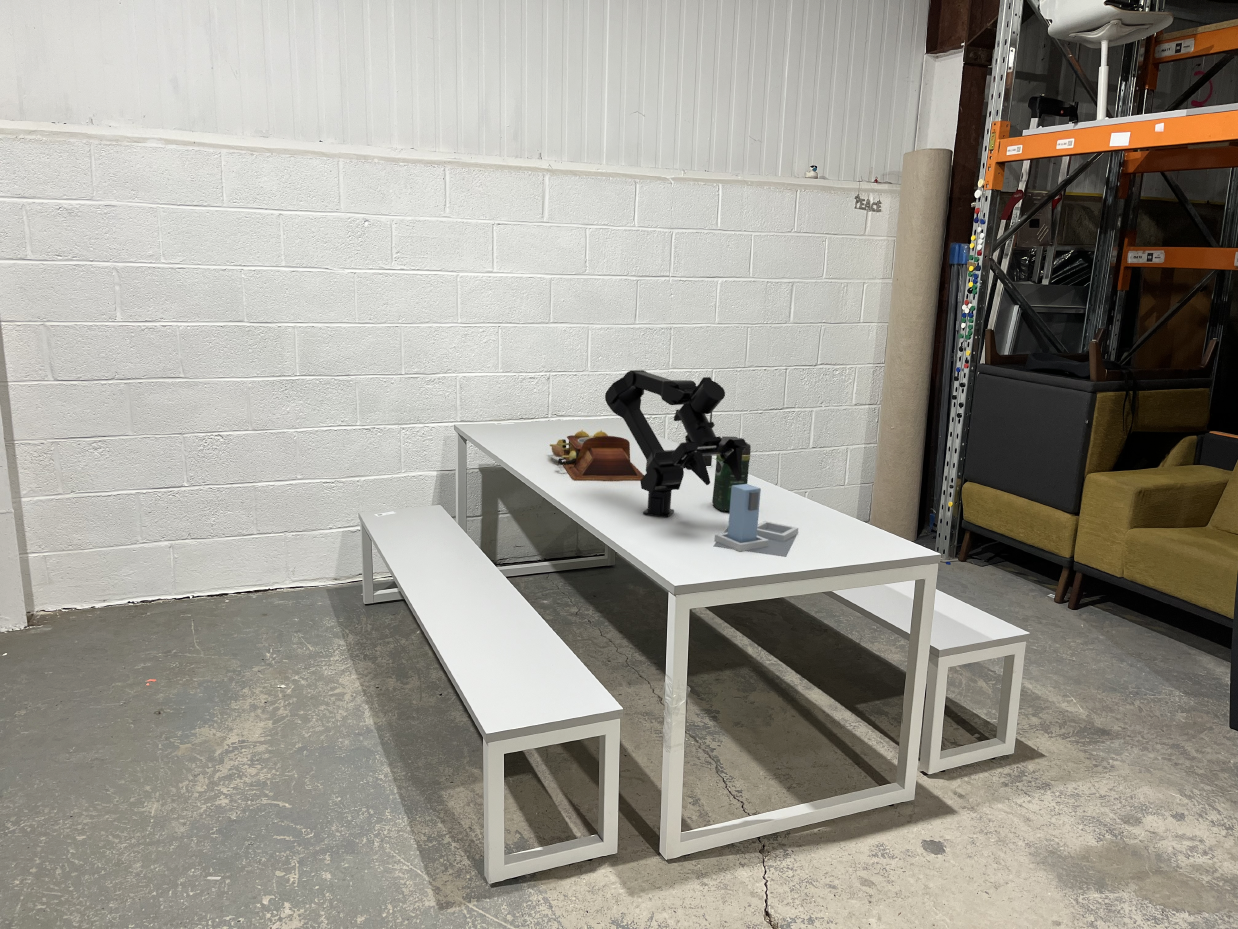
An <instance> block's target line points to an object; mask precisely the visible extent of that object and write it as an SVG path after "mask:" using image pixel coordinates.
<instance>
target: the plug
mask: <svg viewBox="0 0 1238 929" xmlns="http://www.w3.org/2000/svg"><path fill="white" fill-rule="evenodd" d="M761 489H762V488H760V487H757V486H755V485H752V484H750V483H749V484H748V483H747V484H742V485H733V486H732V489H731V501H730V511H729V516H728V526H727V528H728V538H730V539H732V540H734V541H737V542H739V543H744V542H750V541H756V537H757V526H758V524H759V512H760V502H761V501H760V500H761V491H762V490H761Z"/></svg>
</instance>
